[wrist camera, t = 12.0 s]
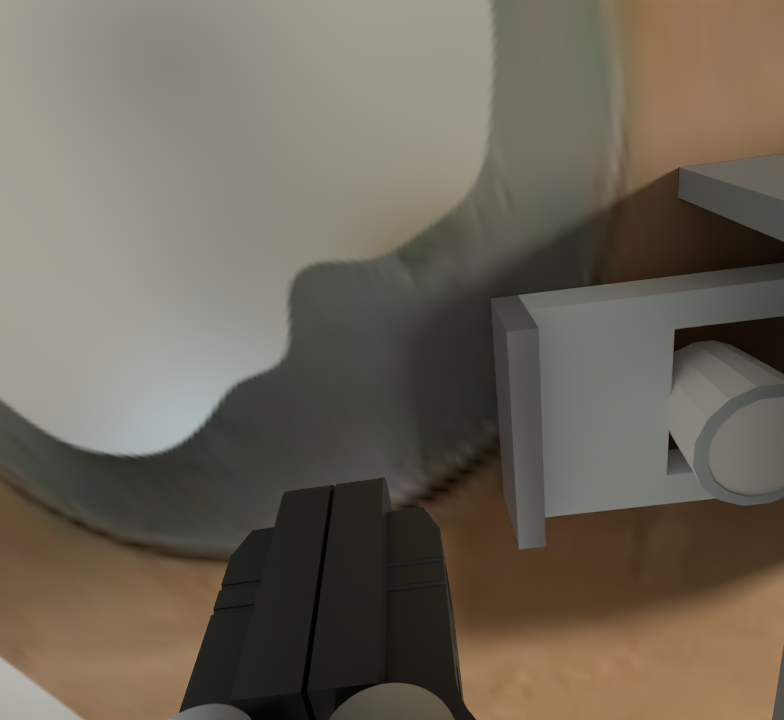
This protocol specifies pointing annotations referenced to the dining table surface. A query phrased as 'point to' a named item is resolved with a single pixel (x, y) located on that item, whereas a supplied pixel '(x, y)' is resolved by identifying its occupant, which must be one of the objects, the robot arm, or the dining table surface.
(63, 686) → the dining table surface
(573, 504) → the grey flat bracket
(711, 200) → the grey shelf
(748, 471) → the shot glass
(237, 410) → the dining table surface
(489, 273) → the dining table surface
